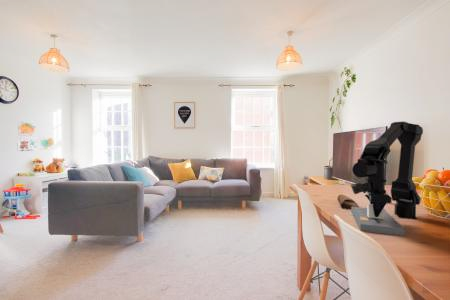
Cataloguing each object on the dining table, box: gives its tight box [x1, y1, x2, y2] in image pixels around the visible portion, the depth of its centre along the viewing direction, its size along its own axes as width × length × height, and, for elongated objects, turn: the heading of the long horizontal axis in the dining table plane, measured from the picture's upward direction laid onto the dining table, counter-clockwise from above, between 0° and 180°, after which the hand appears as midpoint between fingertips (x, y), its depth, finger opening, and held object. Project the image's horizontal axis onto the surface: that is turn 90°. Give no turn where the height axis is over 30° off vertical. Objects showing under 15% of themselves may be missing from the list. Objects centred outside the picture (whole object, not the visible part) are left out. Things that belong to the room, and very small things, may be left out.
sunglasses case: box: [337, 194, 359, 210], centre depth 122 cm, size 18×7×7 cm
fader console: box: [350, 206, 405, 237], centre depth 95 cm, size 13×25×3 cm, turn 159°
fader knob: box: [366, 203, 385, 219], centre depth 92 cm, size 5×3×5 cm, turn 69°
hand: (375, 215), depth 92 cm, fingers closed on fader knob, 3 cm apart
